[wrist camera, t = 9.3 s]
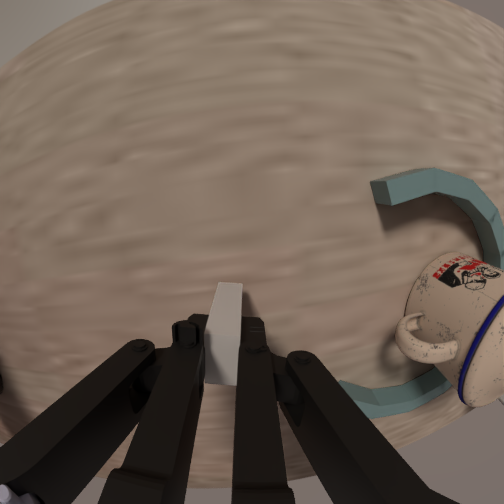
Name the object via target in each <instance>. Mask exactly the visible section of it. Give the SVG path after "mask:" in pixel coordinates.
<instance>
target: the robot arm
mask: <svg viewBox="0 0 504 504" xmlns="http://www.w3.org/2000/svg"><path fill="white" fill-rule="evenodd" d="M242 284H243V283H228V282H218V286H217V289H216V293H215V296H214V300H213V303H212V307H211V310H210V314H209V315H204V314H193V315H191V316H190V317H188V320H183V321H178V322H176V323H174V324H173V325H172V336H173V343H172V345H171V347H168V348H157V349H155V346H154V344H153V343H152V342H151V341H149V340H145V339H136V340H132V341H130V342H128V343H127V344H125V345H124V346H123V347H122V348H120V349H119V350H118V351H117V352H116V353H114V354H113V355H112V356H111V357H109V358H108V359H107V360H106V361H104V362H103V363H102V364H101V365H100V366H98V367H97V368H96V369H95V370H93V371H92V372H91V373H90V374H89V375H87V376H86V377H85V378H84V379H82V380H81V381H80V382H79V383H78V384H76V385H75V386H74V387H73V388H71V389H70V390H69V391H68V392H67V393H65V394H64V395H63V396H62V397H61V398H59V399H58V400H57V401H56V402H54V403H53V404H52V405H51V406H50V407H48V408H47V409H46V410H45V411H44V412H42V413H41V414H40V415H39V416H38V417H36V418H35V419H34V420H33V421H32V422H30V423H29V424H28V425H27V426H26V427H24V428H23V429H22V430H21V431H20V432H18V433H17V434H16V435H15V436H14V437H12V438H11V439H10V440H9V441H8V442H6V443H5V444H4V445H3V446H2V447H0V504H71V503H72V502H73V501H74V500H75V499H76V497H77V496H78V495H79V494H80V493H81V492H82V490H83V489H84V488H85V487H86V486H87V484H88V483H89V482H90V481H91V480H92V478H93V477H94V476H95V475H96V474H97V472H98V471H99V470H100V469H101V468H102V466H103V465H104V464H105V463H106V462H107V460H108V459H109V458H110V457H111V456H112V454H113V453H114V452H115V451H116V449H117V448H118V447H119V446H120V445H121V443H122V442H123V441H124V440H125V438H126V437H127V436H128V435H129V434H130V432H131V431H132V430H133V429H134V427H135V426H136V425H137V424H138V422H139V424H138V426H137V429H136V431H135V434H134V436H133V439H132V441H131V444H130V446H129V449H128V452H127V454H126V457H125V459H124V462H123V464H122V466H121V467H120V468H114V469H113V470H112V471H111V472H110V474H109V476H108V478H107V480H106V483H105V486H104V488H103V491H102V494H101V496H100V499H99V501H98V504H184V501H185V494H186V488H187V482H188V476H189V470H190V464H191V458H192V453H193V447H194V441H195V435H196V430H197V424H198V419H199V413H200V408H201V402H202V397H203V392H204V377H205V383H208V384H220V385H234V386H236V403H235V404H236V405H235V427H234V450H233V475H232V501H231V504H295V498H294V493H293V491H292V489H291V488H289V487H288V484H287V477H286V469H285V461H284V454H283V446H282V438H281V430H280V423H279V415H278V408H277V401H279V405H280V407H281V409H282V411H283V413H284V415H285V417H286V419H287V421H288V423H289V425H290V427H291V428H292V430H293V432H294V434H295V436H296V438H297V440H298V442H299V443H300V445H301V447H302V449H303V451H304V453H305V454H306V456H307V458H308V460H309V462H310V463H311V465H312V467H313V469H314V471H315V472H316V474H317V476H318V478H319V479H320V481H321V483H322V485H323V486H324V488H325V490H326V491H327V493H328V495H329V497H330V498H331V500H332V502H333V503H334V504H460V503H457V502H455V501H453V500H451V499H449V498H447V497H445V496H443V495H441V494H439V493H437V492H435V491H433V490H431V489H429V488H428V486H427V485H426V484H425V483H424V482H423V481H422V480H421V479H420V477H419V476H418V475H417V474H416V473H415V472H414V470H413V469H412V468H411V467H410V466H409V465H408V464H407V463H406V461H405V460H404V459H403V458H402V457H401V456H400V455H399V453H398V452H397V451H396V450H395V449H394V448H393V446H392V445H391V444H390V443H389V442H388V441H387V439H386V438H385V437H384V436H383V435H382V434H381V433H380V431H379V430H378V429H377V428H376V427H375V426H374V424H373V423H372V422H371V421H370V420H369V418H368V417H367V416H366V415H365V414H364V413H363V411H362V410H361V409H360V408H359V407H358V406H357V404H356V403H355V402H354V401H353V400H352V398H351V397H350V396H349V395H348V394H347V392H346V391H345V390H344V389H343V388H342V386H341V385H340V384H339V383H338V382H337V381H336V379H335V378H334V377H333V376H332V375H331V373H330V372H329V371H328V370H327V369H326V367H325V366H324V365H323V364H322V362H321V361H320V360H319V359H318V358H317V357H316V356H315V355H314V354H313V353H310V352H308V351H302V350H301V351H293V352H291V353H289V354H288V356H287V358H285V357H281V356H277V355H275V354H273V353H271V352H270V349H269V347H268V346H267V343H266V335H265V328H264V322H263V321H262V320H261V319H260V318H257V317H241V309H242ZM2 389H3V386H2V380H1V376H0V394H1V392H2Z"/></svg>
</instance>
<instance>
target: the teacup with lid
mask: <svg viewBox="0 0 504 504" xmlns="http://www.w3.org/2000/svg"><path fill="white" fill-rule="evenodd" d="M395 340H396V344H397V346H398V348H399V349H400V350H401V352H402V353H403V354H404V355H406V356H407V357H409V358H410V359H412V360H415V361H418V362H422V363H428V364H434V365H435V366H436V367H437V368H438V370H439V371H440V372H441V373H442V374H443V375H444V376H445V377H446V378H447V380H448V381H449V382H450V383H451V384H452V385H453V386H454V387H455V389H456V390H457V391H458V395H459V398H460V400H461V401H462V402H463V403H464V404H466V405H469V406H471V407H482V406H485V405H488V404H490V403H491V402H493V401H495V400H496V399H498V398H499V397H500V396H502V395H503V394H504V270H501V269H499V268H497V267H494V266H492V265H490V264H487V263H485V262H482V261H480V260H478V259H475V258H473V257H470V256H467V255H465V254H462V253H457V252H452V253H447V254H444V255H442V256H440V257H438V258H437V259H435V260H434V261H433V262H431V263H430V264H429V265H428V266H427V267H426V268H425V269H424V271H423V272H422V273H421V275H420V276H419V277H418V279H417V281H416V282H415V284H414V286H413V288H412V290H411V293H410V295H409V298H408V301H407V306H406V311H405V317H403V318H402V319H401V320H400V321H399V323H398V325H397V328H396V333H395Z"/></svg>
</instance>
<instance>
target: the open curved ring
mask: <svg viewBox="0 0 504 504" xmlns="http://www.w3.org/2000/svg"><path fill="white" fill-rule="evenodd" d="M370 184H371V187H372V191H373V195H374V199H375V203H378V204H385V205H391V206H393V205H396V204H399V203H402V202H405V201H408V200H411V199H414V198H417V197H421V196H424V195H427V194H430V193H432V194H437V195H441V196H445V197H449V198H450V199H451V200H452V201H453V202H455V203H456V204H457V205H458V206H459V207H460V208H461V209H462V210H463V211H464V212H465V213H466V214H467V215H468V216H469V217H470V218H471V219H472V221H473V224H474V226H475V229H476V231H477V234H478V237H479V239H480V242H481V245H482V248H483V259H484V262H485V263H487V264H490V265H492V266H494V267H497V268H499V269H501V270H504V226H503V223H502V220H501V217H500V214H499V211H498V209H497V207H496V206H495V205H494V204H493V203H492V201H491V200H490V199H489V198H488V197H487V196H486V194H485V193H484V192H483V191H482V190H481V189H480V188H479V187H478V185H477V184H476V183H475V182H474V181H473V180H471V179H468V178H465V177H462V176H459V175H456V174H453V173H450V172H447V171H443V170H440V169H437V168H421V169H413V170H409V171H406V172H402V173H398V174H395V175H391V176H387V177H384V178H380V179H377V180H373V181H370ZM338 383H339V384H340V385H341V386H342V388H343V389H344V390H345V391H346V392H347V394H348V395H349V396H350V397H351V398H352V400H353V401H354V402H355V403H356V404H357V406H358V407H359V408H360V409H361V410H362V411H363V413H364V414H365V415H366V416H367V417H368V418H371V419H373V418H379V417H385V416H391V415H396V414H401V413H406V412H409V411H411V410H413V409H415V408H417V407H419V406H421V405H423V404H425V403H427V402H429V401H430V400H432V399H434V398H436V397H438V396H439V395H441V394H443V393H444V392H445V391H446V390H448V389H449V388H450V387H451V386H452V384H451V383H450V382H449V381H448V380H447V378H446V377H445V376H444V375H443V374H442V373H441V372H440V371H439V370H438V368H437V367H436V366H435V367H434V368H433V369H432V370H431V371H429V372H427V373H425V374H423V375H421V376H419V377H417V378H415V379H413V380H411V381H409V382H407V383H405V384H403V385H400V386H393V387H386V388H378V389H368V388H365V387H361V386H358V385H354V384H351V383H348V382H345V381H341V380H340V381H339V382H338Z"/></svg>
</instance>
